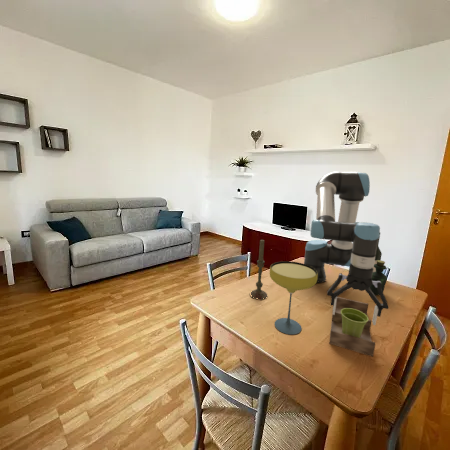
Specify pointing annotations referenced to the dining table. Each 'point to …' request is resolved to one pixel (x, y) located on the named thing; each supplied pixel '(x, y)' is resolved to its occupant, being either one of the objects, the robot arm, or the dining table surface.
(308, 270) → the cocktail glass
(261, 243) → the candlestick holder
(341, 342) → the rack
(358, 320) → the plant pot
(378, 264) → the potion bottle
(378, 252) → the wine bottle
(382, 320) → the dining table surface
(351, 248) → the robot arm
